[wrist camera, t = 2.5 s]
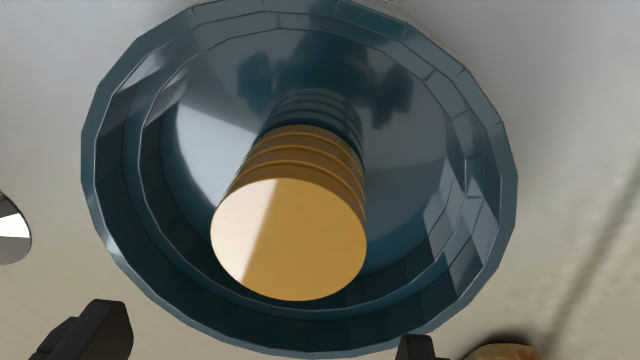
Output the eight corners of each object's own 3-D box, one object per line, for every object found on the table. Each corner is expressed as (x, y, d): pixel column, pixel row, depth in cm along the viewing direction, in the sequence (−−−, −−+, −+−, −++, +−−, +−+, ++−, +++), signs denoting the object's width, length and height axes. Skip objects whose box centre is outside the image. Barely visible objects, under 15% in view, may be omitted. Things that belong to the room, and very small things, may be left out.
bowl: (536, -1, 15) (600, 16, 11) (438, 307, 24) (454, 377, 20) (101, -34, 15) (16, -30, 12) (163, 277, 24) (127, 339, 20)
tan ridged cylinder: (372, 126, 17) (377, 186, 13) (357, 231, 20) (357, 308, 16) (241, 115, 18) (202, 169, 13) (246, 220, 21) (215, 293, 16)
